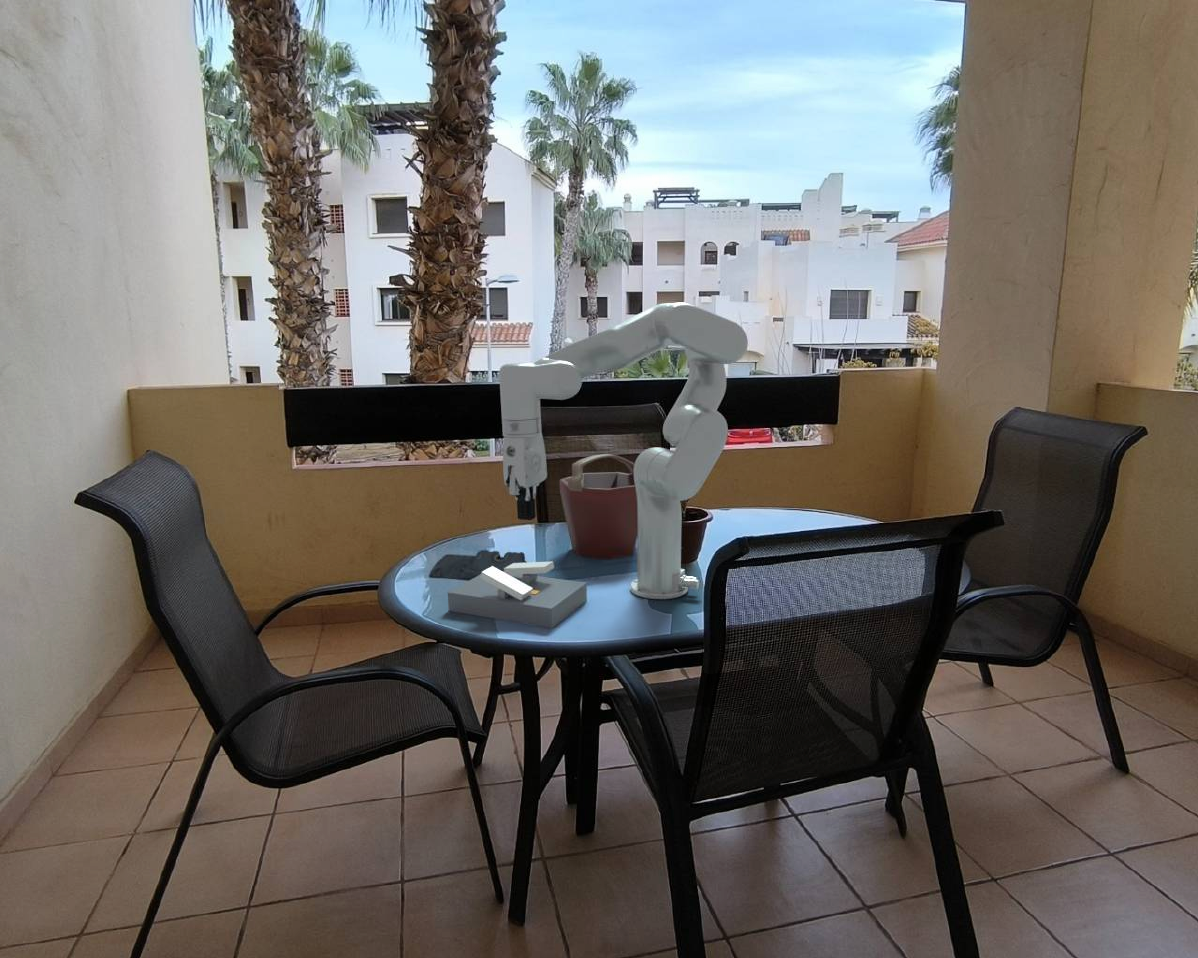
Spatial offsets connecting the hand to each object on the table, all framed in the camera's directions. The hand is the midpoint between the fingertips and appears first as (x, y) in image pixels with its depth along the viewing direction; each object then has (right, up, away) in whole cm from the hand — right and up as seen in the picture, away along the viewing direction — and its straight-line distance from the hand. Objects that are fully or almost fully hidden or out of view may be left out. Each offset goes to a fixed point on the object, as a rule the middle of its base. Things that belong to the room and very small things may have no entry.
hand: (526, 518), depth 149 cm
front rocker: (-4, -14, +2) cm, 15 cm away
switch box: (-2, -19, +8) cm, 20 cm away
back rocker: (0, -12, +11) cm, 16 cm away
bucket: (+15, -11, +47) cm, 51 cm away
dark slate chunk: (-14, -15, +31) cm, 37 cm away
